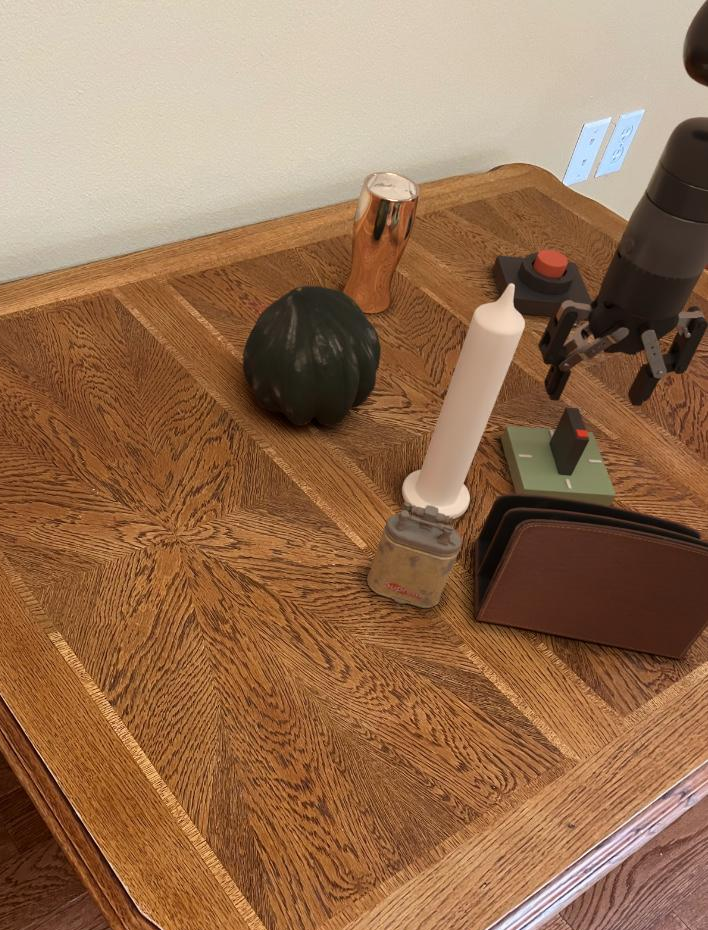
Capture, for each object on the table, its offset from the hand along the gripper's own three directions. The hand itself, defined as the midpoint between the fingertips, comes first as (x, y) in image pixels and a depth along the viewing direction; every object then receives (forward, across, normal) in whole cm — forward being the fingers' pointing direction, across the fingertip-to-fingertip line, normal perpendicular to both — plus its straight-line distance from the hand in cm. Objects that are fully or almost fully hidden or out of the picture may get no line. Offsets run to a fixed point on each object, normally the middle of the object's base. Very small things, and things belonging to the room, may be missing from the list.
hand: (592, 398), depth 94 cm
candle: (+10, +14, +5) cm, 18 cm away
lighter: (+10, +19, +18) cm, 28 cm away
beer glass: (+10, +18, -30) cm, 37 cm away
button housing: (+10, -6, -35) cm, 37 cm away
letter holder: (+11, +2, +18) cm, 21 cm away
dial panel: (+10, 0, 0) cm, 11 cm away
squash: (+10, +27, -9) cm, 31 cm away
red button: (+7, -6, -35) cm, 36 cm away
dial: (+8, 0, 0) cm, 8 cm away
